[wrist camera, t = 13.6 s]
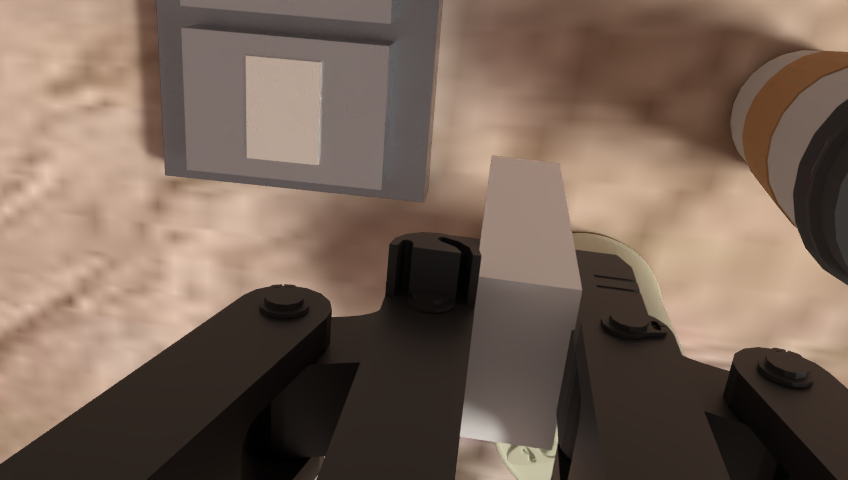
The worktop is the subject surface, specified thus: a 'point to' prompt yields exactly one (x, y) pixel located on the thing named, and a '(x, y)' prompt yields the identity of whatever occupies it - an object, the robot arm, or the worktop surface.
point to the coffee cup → (801, 146)
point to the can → (538, 463)
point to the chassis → (301, 93)
